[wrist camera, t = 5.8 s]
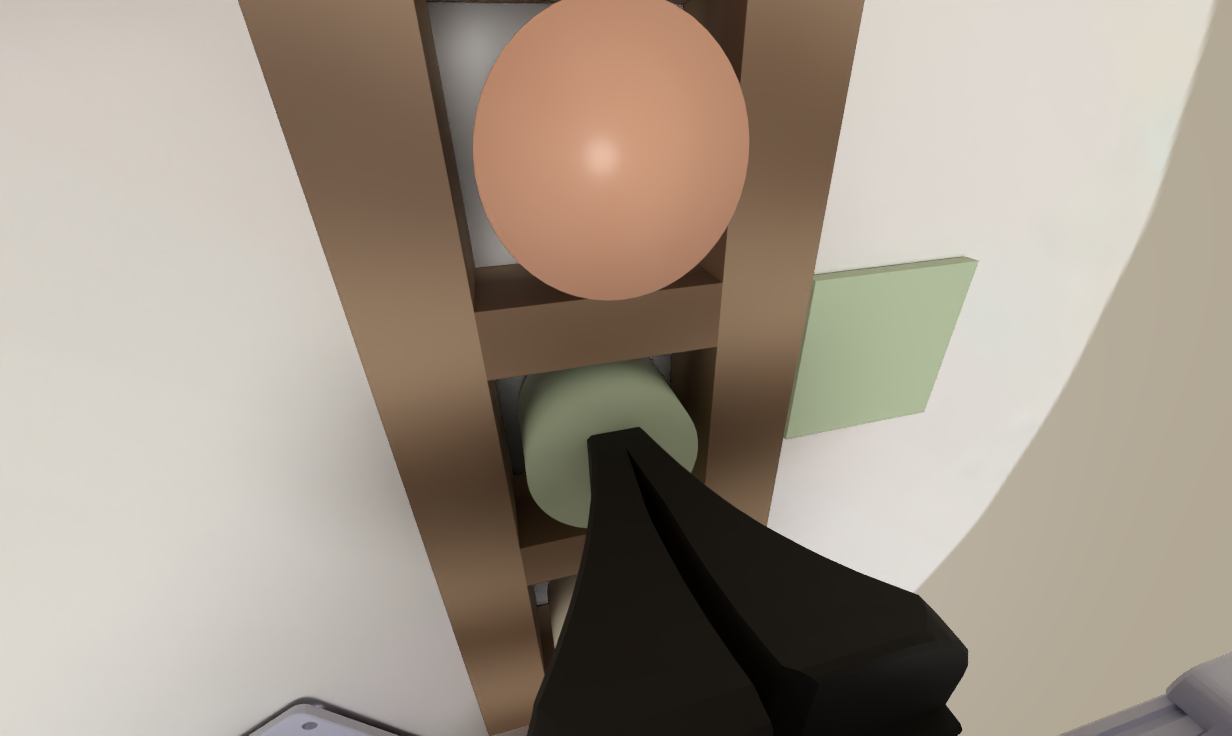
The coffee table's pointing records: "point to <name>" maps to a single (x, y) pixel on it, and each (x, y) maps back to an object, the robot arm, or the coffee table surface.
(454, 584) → the wooden compartment tray
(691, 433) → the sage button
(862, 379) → the colour card
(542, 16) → the terracotta button
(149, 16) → the coffee table surface
